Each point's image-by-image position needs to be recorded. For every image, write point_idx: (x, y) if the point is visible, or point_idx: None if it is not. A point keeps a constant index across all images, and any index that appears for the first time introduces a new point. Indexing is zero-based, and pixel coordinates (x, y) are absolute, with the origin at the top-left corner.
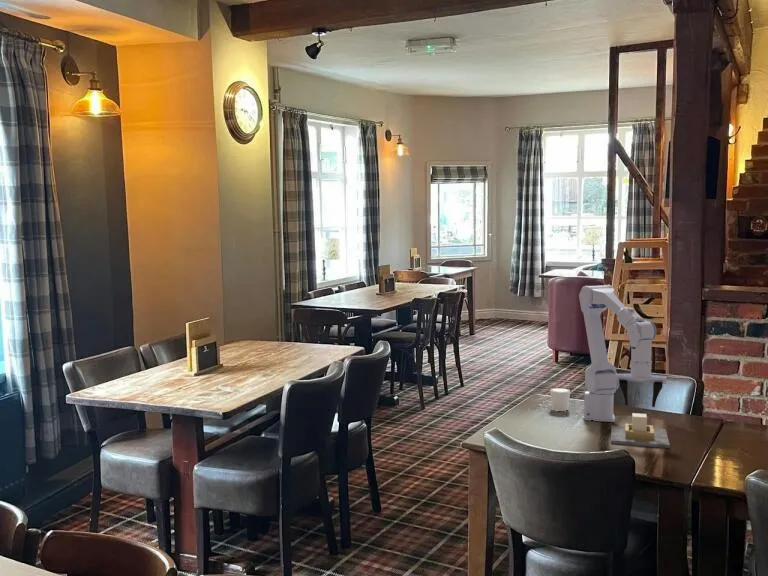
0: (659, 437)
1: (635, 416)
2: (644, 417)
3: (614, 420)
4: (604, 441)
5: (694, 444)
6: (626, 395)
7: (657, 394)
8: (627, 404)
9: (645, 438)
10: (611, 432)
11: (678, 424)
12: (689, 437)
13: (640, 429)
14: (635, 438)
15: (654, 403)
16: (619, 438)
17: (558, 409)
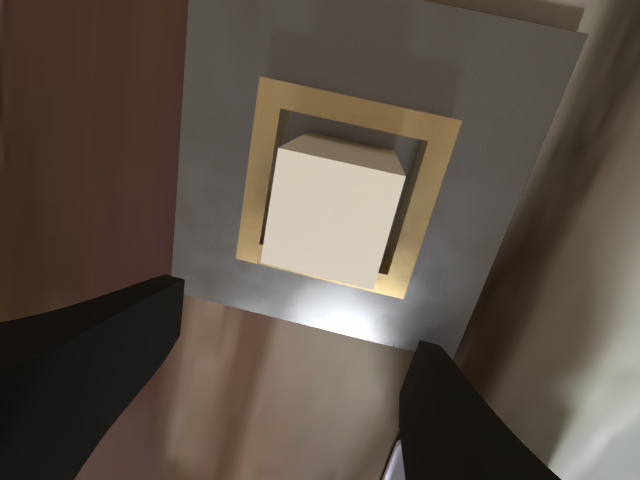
0: (229, 131)
1: (376, 181)
2: (300, 151)
3: (395, 449)
4: (599, 94)
5: (54, 69)
6: (467, 415)
7: (18, 323)
8: (424, 343)
9: (323, 89)
10: (505, 229)
11: None
12: (73, 203)
13: (341, 146)
14: (388, 97)
15: (143, 285)
16: (503, 89)
17: None
